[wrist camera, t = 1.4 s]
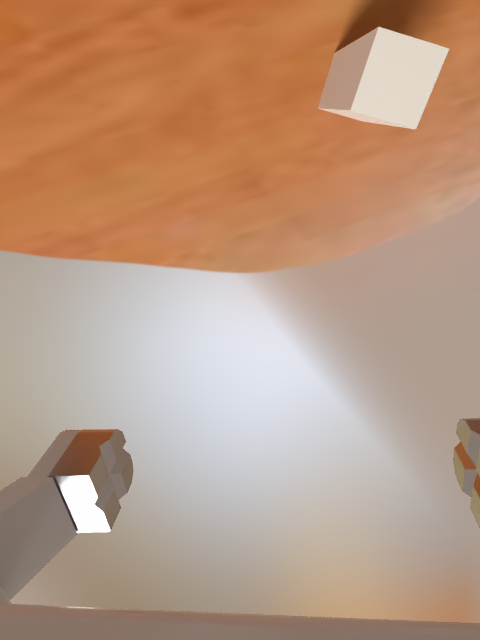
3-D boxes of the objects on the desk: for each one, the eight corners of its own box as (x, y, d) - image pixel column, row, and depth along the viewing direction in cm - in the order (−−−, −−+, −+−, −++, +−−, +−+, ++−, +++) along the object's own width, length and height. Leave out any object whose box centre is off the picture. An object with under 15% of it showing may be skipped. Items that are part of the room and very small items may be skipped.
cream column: (317, 108, 38) (350, 110, 26) (334, 52, 36) (378, 26, 24) (362, 121, 39) (415, 129, 26) (381, 67, 37) (449, 48, 24)
